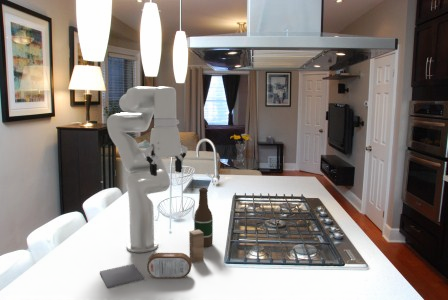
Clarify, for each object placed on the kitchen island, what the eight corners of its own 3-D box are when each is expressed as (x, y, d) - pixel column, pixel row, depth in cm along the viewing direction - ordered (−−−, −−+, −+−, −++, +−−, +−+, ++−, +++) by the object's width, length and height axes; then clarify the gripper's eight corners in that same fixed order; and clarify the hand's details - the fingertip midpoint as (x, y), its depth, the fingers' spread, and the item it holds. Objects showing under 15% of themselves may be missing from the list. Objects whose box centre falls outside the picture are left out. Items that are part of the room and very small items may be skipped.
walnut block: (189, 259, 139) (189, 231, 137) (199, 256, 141) (198, 229, 139) (194, 263, 135) (193, 234, 134) (203, 260, 137) (203, 232, 136)
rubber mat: (99, 272, 127) (99, 271, 127) (133, 265, 133) (133, 263, 133) (107, 288, 117) (107, 286, 117) (144, 279, 123) (144, 277, 123)
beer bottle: (192, 247, 150) (191, 190, 146) (196, 240, 157) (196, 186, 154) (210, 248, 148) (211, 191, 145) (214, 241, 156) (214, 186, 153)
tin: (191, 274, 126) (191, 251, 125) (191, 279, 123) (191, 255, 122) (148, 275, 126) (147, 252, 125) (146, 279, 123) (145, 255, 122)
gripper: (180, 122, 132) (181, 169, 134) (136, 124, 121) (138, 175, 123) (192, 123, 126) (193, 172, 128) (147, 125, 115) (148, 178, 117)
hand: (166, 173), depth 126 cm, fingers open, 9 cm apart
